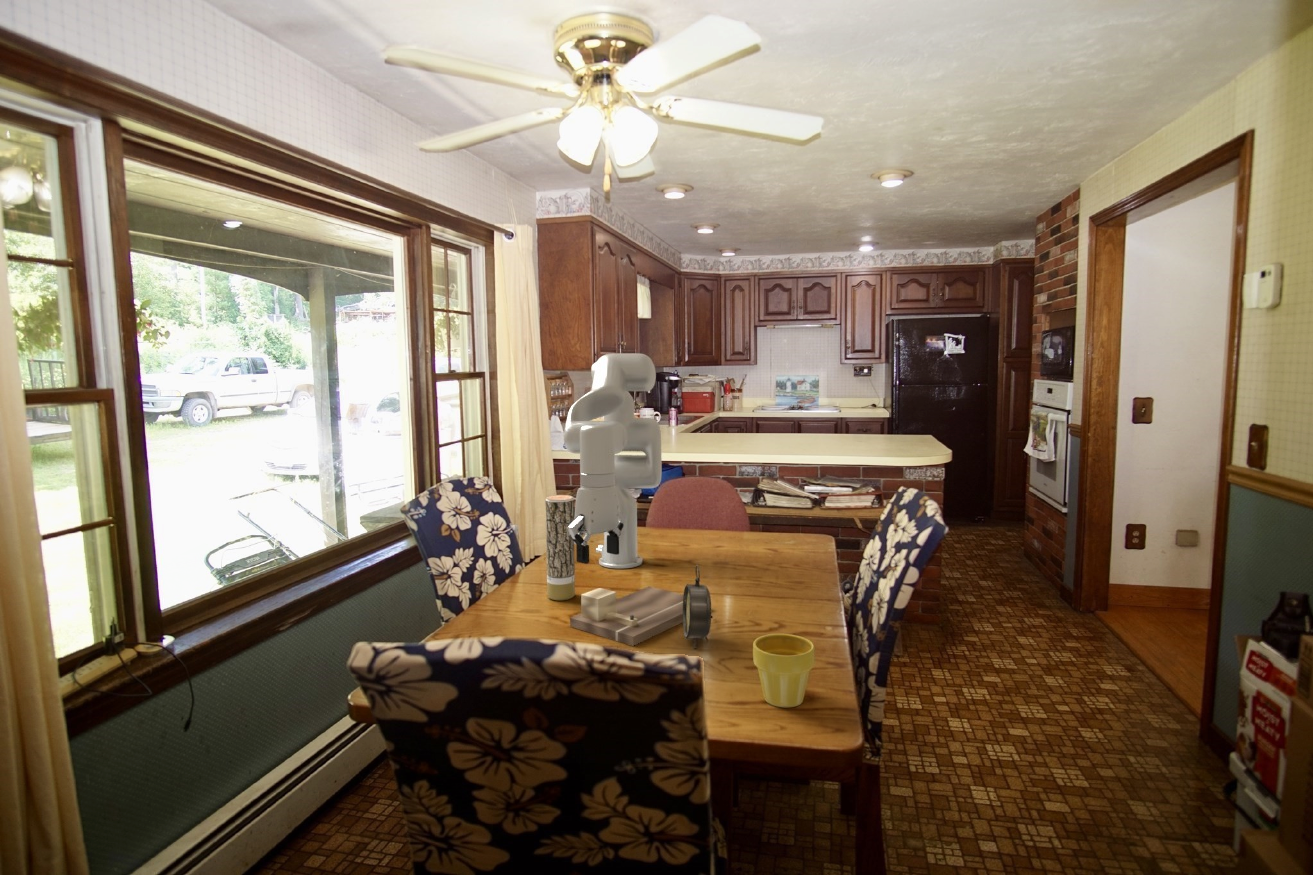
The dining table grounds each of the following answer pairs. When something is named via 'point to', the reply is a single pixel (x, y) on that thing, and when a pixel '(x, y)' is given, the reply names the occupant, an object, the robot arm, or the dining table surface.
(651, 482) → the robot arm
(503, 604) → the dining table surface
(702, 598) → the alarm clock
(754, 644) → the plant pot
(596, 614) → the cream square mallet
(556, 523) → the paper tube
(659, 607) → the wooden cutting board
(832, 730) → the dining table surface
